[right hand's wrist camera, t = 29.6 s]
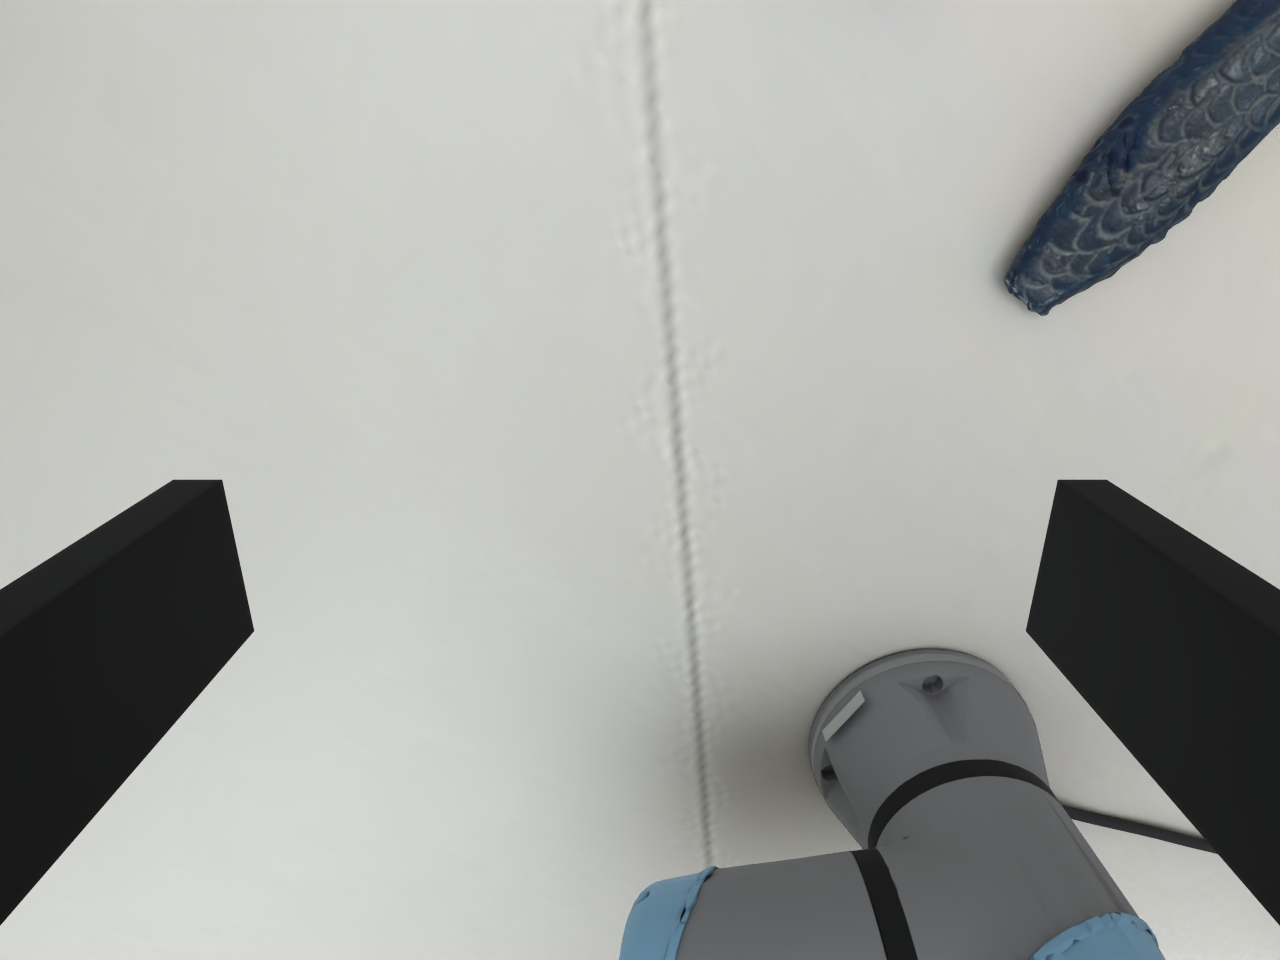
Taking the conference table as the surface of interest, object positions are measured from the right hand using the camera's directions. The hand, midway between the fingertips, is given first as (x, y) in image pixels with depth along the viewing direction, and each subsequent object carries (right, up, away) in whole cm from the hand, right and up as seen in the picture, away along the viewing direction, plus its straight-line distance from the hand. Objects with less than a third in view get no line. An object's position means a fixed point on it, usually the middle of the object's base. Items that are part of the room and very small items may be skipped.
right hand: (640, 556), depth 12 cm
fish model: (+27, +19, +28) cm, 44 cm away
